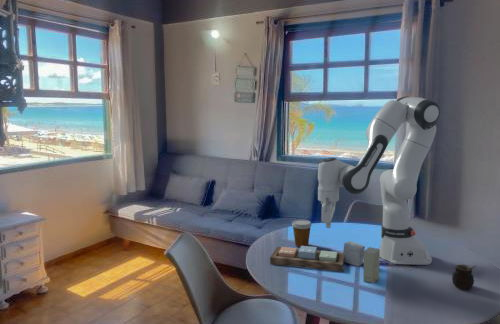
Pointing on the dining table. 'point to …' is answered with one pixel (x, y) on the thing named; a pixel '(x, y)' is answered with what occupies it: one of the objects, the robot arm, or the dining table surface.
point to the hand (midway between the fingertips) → (328, 227)
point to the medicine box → (353, 253)
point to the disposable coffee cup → (301, 232)
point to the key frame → (308, 261)
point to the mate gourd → (463, 277)
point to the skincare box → (371, 265)
